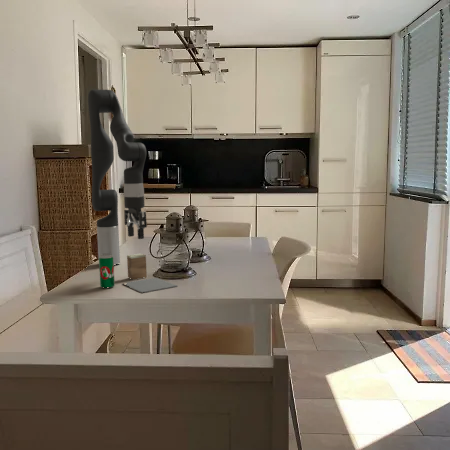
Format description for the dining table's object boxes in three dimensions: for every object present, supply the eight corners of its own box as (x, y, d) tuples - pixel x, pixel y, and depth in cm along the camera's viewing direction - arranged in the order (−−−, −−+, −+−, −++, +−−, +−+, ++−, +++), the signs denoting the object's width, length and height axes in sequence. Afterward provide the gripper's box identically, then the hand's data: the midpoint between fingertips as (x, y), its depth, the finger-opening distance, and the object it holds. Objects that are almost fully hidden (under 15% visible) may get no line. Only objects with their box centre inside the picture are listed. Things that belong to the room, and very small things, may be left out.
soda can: (108, 284, 176) (107, 252, 175) (117, 286, 173) (116, 254, 172) (97, 287, 172) (95, 254, 171) (106, 289, 169) (104, 256, 168)
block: (128, 278, 186) (127, 255, 185) (142, 276, 190) (141, 253, 189) (132, 280, 183) (131, 256, 182) (146, 277, 186) (145, 255, 185)
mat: (122, 284, 176) (122, 283, 176) (156, 278, 184) (156, 277, 184) (141, 293, 163) (141, 292, 163) (177, 286, 172) (177, 285, 172)
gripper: (117, 195, 186) (119, 236, 188) (133, 196, 175) (135, 240, 177) (134, 194, 190) (136, 234, 192) (151, 195, 179) (153, 238, 181)
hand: (135, 237), depth 184 cm, fingers open, 8 cm apart
